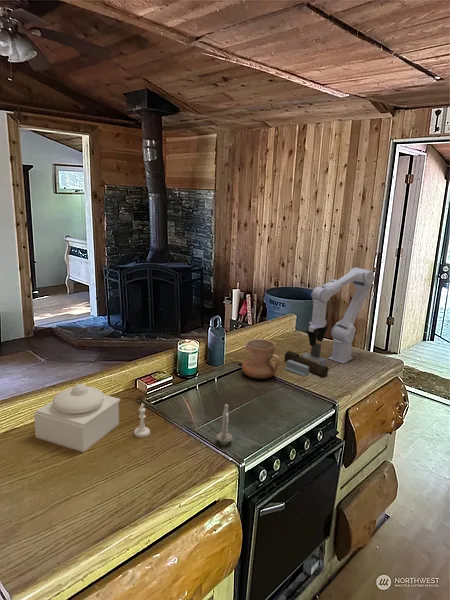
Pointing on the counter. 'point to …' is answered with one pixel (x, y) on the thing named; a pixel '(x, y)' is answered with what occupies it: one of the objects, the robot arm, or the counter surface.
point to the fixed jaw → (297, 368)
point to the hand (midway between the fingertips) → (316, 343)
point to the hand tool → (307, 363)
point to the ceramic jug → (260, 359)
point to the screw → (224, 428)
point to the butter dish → (77, 417)
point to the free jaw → (315, 355)
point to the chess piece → (142, 424)
